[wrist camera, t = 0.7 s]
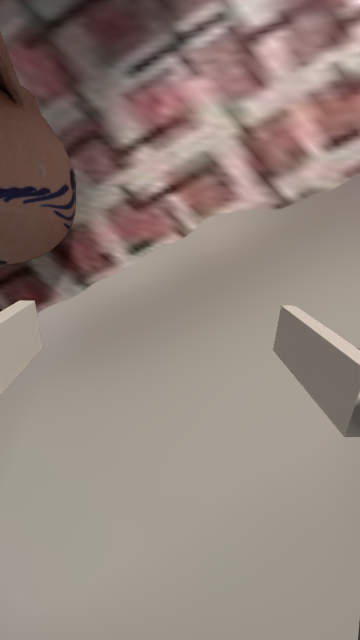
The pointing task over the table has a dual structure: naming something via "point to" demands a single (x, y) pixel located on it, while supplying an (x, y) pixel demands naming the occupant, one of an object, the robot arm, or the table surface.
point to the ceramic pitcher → (30, 175)
